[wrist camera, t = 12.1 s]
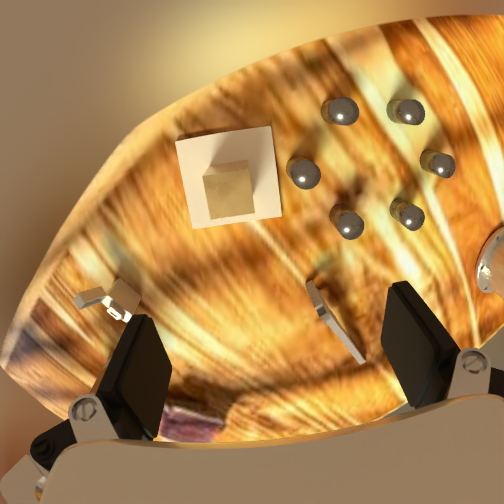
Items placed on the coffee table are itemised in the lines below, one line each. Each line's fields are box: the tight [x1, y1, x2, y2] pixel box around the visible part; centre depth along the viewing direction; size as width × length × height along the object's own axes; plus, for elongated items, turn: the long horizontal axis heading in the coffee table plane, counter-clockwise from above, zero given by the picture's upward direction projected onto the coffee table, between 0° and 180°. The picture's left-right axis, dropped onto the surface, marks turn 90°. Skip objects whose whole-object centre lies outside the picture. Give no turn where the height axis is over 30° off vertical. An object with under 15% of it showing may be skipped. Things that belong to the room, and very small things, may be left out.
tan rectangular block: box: [202, 160, 255, 220], centre depth 28 cm, size 4×4×6 cm
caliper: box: [305, 280, 366, 364], centre depth 38 cm, size 20×1×6 cm, turn 35°
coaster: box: [175, 126, 282, 229], centre depth 31 cm, size 10×10×1 cm
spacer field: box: [286, 97, 455, 240], centre depth 29 cm, size 20×15×4 cm
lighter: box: [73, 278, 142, 322], centre depth 33 cm, size 7×2×8 cm, turn 42°
